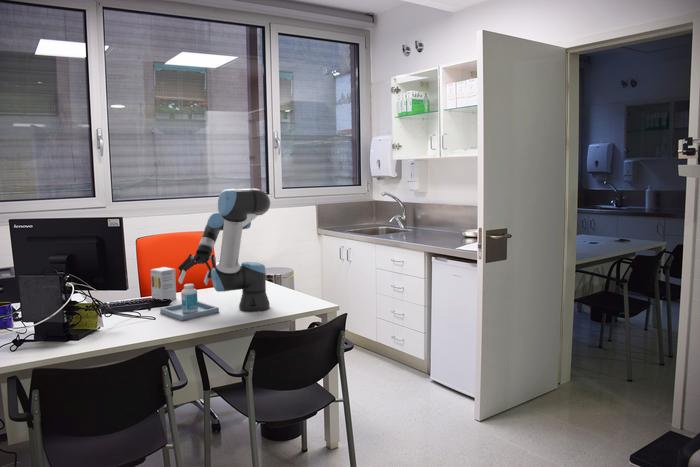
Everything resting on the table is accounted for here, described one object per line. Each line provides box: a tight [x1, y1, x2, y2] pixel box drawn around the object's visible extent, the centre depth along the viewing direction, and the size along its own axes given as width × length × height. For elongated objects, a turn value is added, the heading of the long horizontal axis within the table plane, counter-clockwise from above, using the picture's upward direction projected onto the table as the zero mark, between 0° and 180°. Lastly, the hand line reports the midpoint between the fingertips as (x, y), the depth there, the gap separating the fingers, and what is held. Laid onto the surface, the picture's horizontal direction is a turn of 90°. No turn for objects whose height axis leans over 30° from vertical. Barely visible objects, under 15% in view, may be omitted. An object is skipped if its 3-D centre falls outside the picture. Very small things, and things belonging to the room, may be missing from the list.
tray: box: [159, 300, 220, 322], centre depth 264 cm, size 20×20×2 cm
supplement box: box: [150, 266, 177, 301], centre depth 289 cm, size 10×9×17 cm
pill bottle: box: [180, 283, 198, 313], centre depth 263 cm, size 8×7×14 cm
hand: (192, 282), depth 267 cm, fingers open, 13 cm apart
